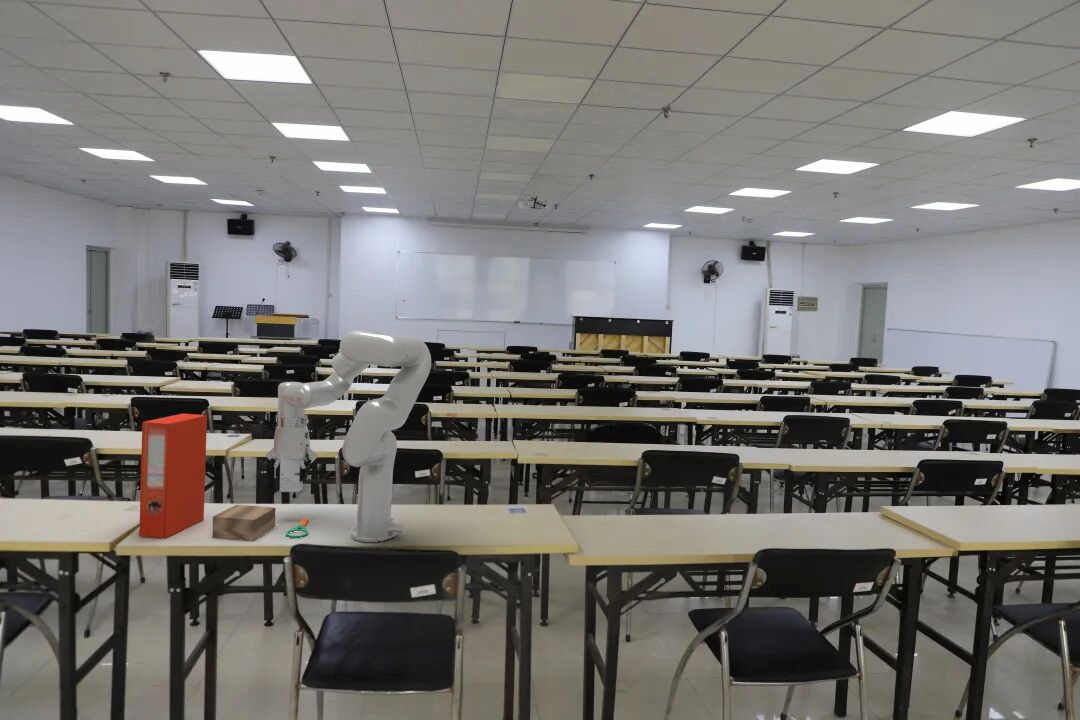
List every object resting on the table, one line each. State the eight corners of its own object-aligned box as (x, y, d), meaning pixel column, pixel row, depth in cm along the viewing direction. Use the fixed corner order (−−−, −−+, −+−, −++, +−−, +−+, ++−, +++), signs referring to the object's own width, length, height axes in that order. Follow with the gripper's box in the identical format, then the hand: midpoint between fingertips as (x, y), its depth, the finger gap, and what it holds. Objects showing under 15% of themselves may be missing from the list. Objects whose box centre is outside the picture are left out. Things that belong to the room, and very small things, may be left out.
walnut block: (274, 527, 189) (275, 507, 189) (253, 541, 177) (254, 519, 177) (236, 524, 190) (236, 504, 190) (212, 537, 178) (212, 516, 178)
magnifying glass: (305, 540, 182) (305, 534, 182) (283, 540, 181) (283, 534, 181) (315, 523, 197) (315, 518, 196) (295, 523, 196) (295, 517, 196)
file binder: (204, 520, 193) (207, 415, 191) (167, 539, 176) (169, 423, 174) (179, 518, 193) (181, 413, 192) (139, 537, 176) (141, 421, 174)
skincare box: (279, 492, 194) (279, 452, 193) (283, 488, 198) (282, 450, 198) (300, 492, 195) (300, 452, 194) (303, 488, 199) (303, 449, 199)
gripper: (324, 421, 199) (324, 478, 199) (270, 420, 200) (270, 476, 201) (313, 424, 191) (313, 484, 192) (257, 423, 193) (258, 482, 193)
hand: (291, 479), depth 196 cm, fingers closed on skincare box, 6 cm apart
